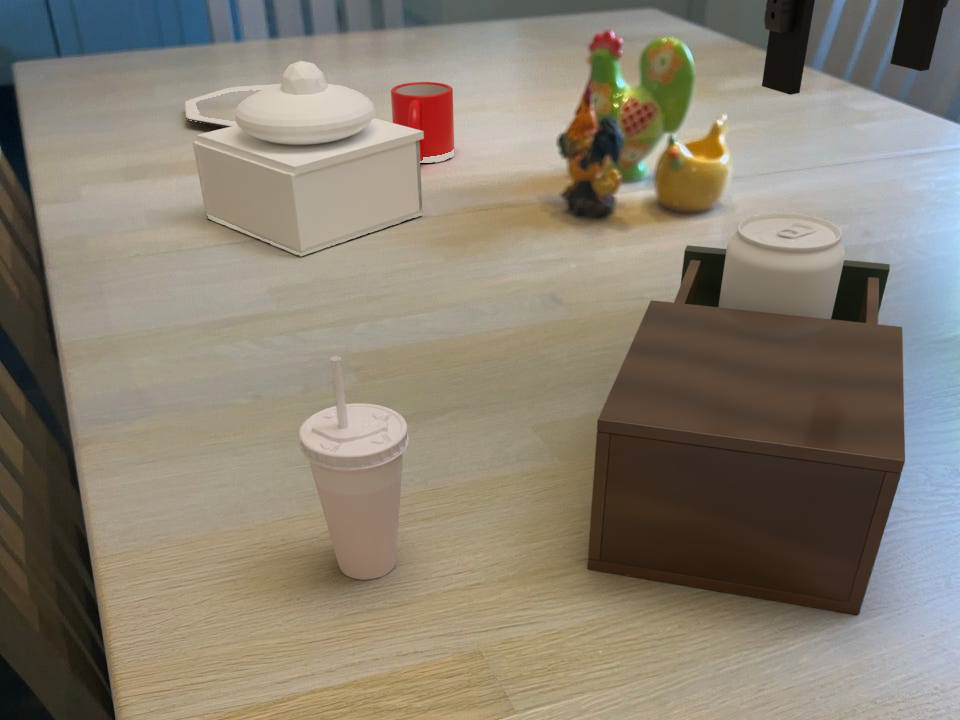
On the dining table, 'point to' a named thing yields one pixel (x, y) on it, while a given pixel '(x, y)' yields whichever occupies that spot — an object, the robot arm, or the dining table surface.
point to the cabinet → (750, 454)
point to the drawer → (853, 297)
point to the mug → (426, 114)
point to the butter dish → (309, 164)
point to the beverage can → (783, 265)
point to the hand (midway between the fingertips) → (846, 78)
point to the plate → (191, 107)
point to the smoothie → (357, 478)
